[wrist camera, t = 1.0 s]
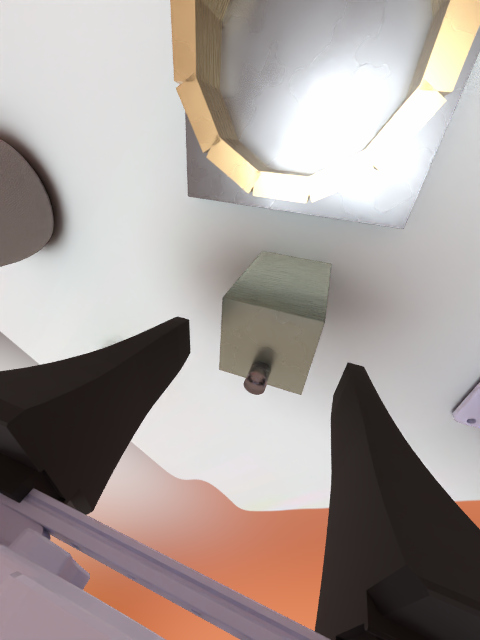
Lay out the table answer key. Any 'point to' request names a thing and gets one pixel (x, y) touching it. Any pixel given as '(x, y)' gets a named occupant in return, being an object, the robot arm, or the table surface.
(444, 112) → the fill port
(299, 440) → the table surface
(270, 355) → the spout can
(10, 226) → the smart speaker
